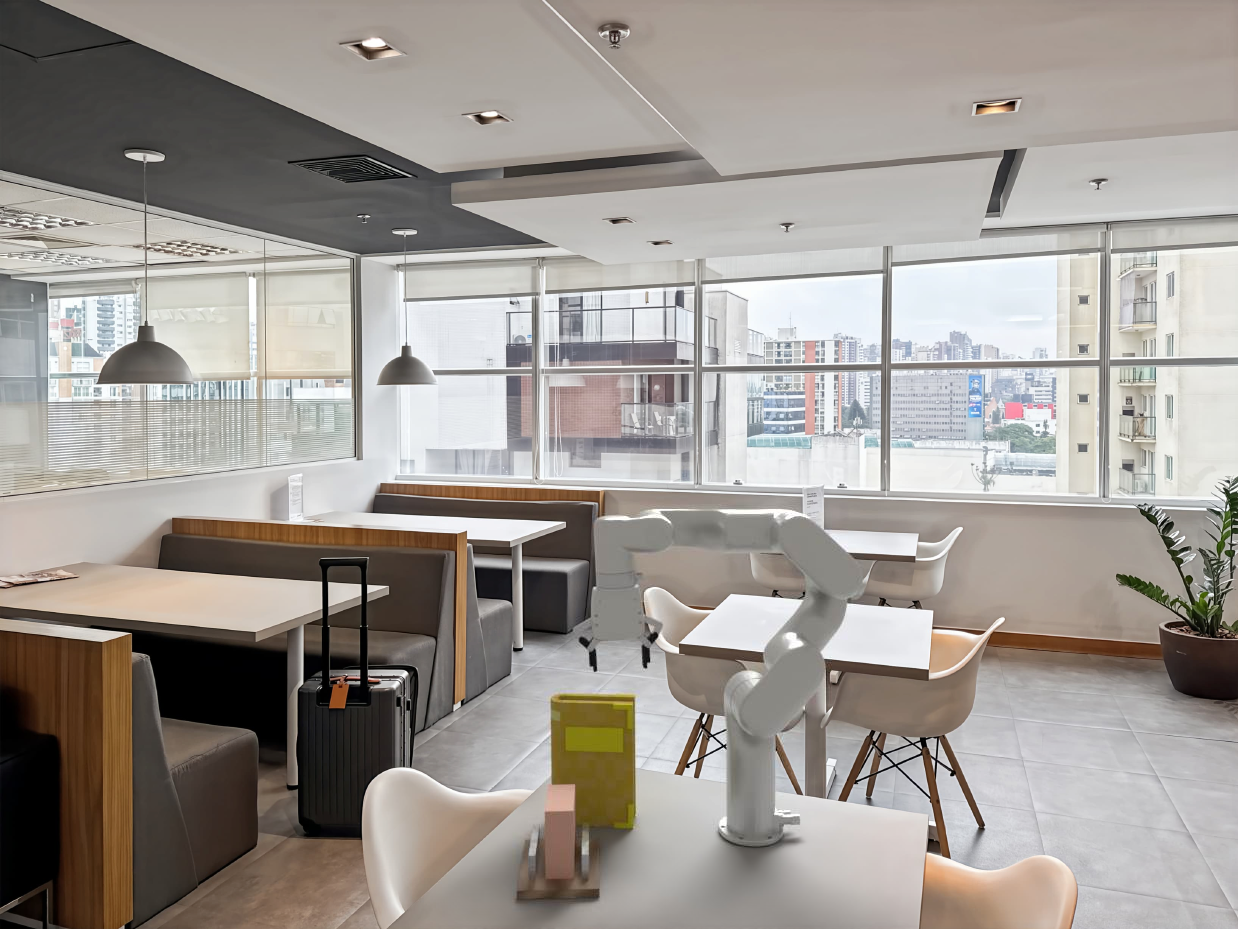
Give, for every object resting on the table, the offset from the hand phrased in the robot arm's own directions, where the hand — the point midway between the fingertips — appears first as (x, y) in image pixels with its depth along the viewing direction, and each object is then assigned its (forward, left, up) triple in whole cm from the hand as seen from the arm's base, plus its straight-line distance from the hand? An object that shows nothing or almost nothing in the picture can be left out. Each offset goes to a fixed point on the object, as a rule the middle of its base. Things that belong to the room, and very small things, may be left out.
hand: (620, 668), depth 165 cm
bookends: (+11, +12, -32) cm, 36 cm away
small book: (+11, +12, -32) cm, 36 cm away
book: (+5, -8, -34) cm, 35 cm away
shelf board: (+11, +12, -34) cm, 37 cm away
